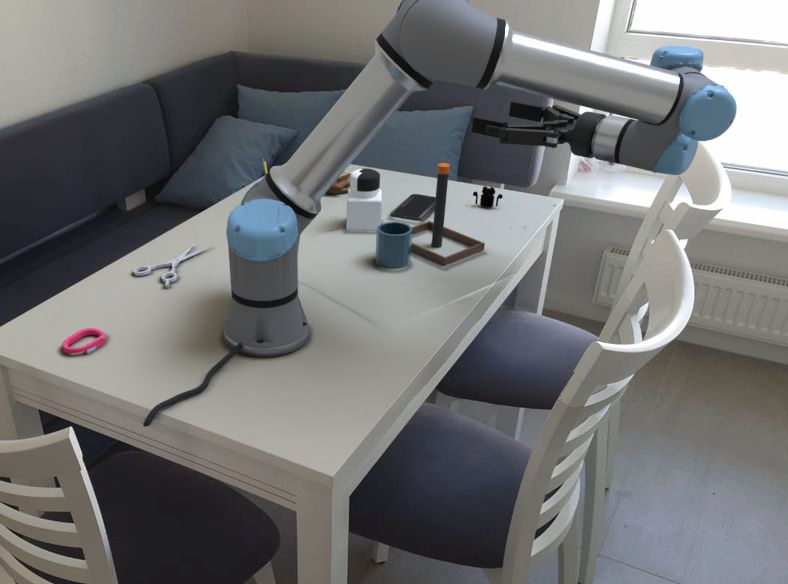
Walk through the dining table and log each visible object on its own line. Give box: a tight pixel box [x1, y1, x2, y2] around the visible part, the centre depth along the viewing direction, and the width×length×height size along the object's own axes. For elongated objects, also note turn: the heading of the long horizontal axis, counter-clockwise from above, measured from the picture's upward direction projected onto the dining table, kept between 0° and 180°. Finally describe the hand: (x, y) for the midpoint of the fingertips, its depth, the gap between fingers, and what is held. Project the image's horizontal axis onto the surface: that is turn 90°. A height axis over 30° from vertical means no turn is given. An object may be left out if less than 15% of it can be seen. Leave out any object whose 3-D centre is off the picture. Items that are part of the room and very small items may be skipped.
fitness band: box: [62, 327, 107, 355], centre depth 142 cm, size 8×6×2 cm
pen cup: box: [375, 221, 413, 269], centre depth 165 cm, size 7×7×8 cm
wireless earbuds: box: [472, 185, 504, 209], centre depth 192 cm, size 7×2×5 cm, turn 70°
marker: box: [430, 162, 451, 249], centre depth 168 cm, size 2×2×18 cm
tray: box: [411, 220, 486, 267], centre depth 173 cm, size 12×16×2 cm
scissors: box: [133, 244, 210, 288], centre depth 169 cm, size 11×1×20 cm
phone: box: [390, 193, 436, 223], centre depth 191 cm, size 8×1×15 cm
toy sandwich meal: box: [325, 171, 351, 194], centre depth 205 cm, size 12×14×5 cm
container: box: [345, 167, 383, 231], centre depth 181 cm, size 8×8×13 cm
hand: (492, 116), depth 151 cm, fingers open, 13 cm apart
